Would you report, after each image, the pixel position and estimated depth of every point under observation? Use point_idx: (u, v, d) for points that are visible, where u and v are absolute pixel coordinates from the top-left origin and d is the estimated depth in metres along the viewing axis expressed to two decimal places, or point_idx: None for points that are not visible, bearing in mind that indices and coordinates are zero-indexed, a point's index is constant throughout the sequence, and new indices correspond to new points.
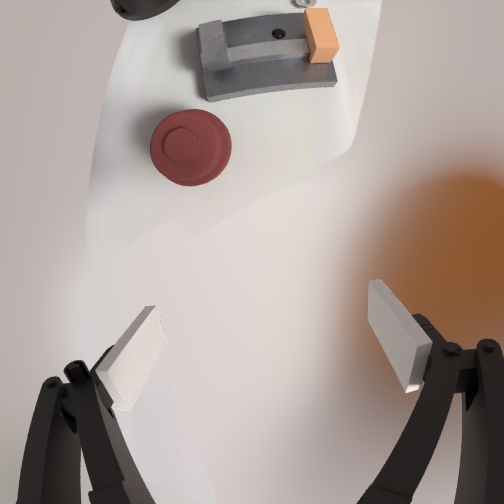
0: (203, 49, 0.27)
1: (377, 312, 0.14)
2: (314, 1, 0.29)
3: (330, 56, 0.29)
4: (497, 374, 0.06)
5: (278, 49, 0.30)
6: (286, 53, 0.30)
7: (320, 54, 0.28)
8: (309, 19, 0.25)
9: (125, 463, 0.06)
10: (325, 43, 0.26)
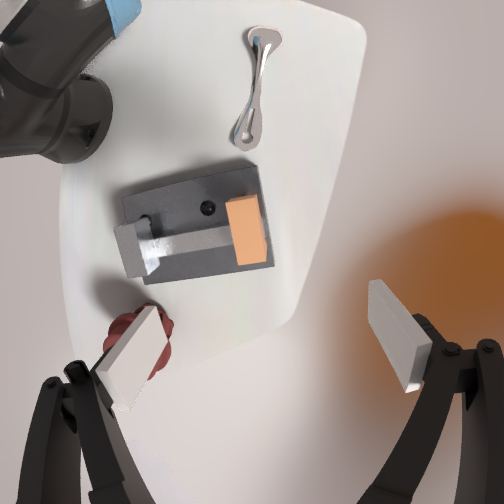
0: (124, 263, 0.31)
1: (377, 312, 0.14)
2: (258, 135, 0.33)
3: None
4: (497, 374, 0.06)
5: (204, 242, 0.34)
6: (214, 247, 0.34)
7: None
8: (230, 222, 0.28)
9: (125, 463, 0.06)
10: (249, 258, 0.29)
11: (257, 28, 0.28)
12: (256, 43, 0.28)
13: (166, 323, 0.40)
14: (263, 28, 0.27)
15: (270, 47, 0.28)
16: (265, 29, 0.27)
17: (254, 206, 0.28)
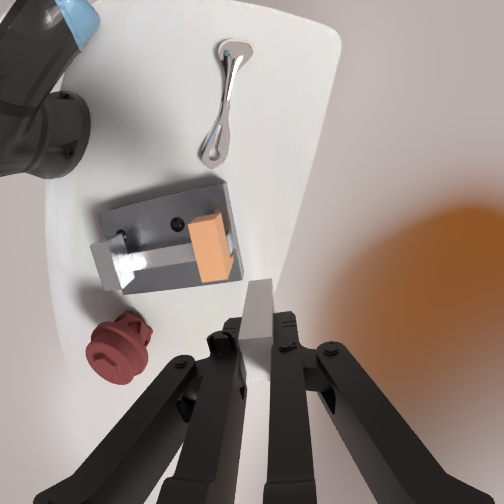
0: (100, 277, 0.32)
1: None
2: (225, 153, 0.34)
3: None
4: (351, 374, 0.09)
5: (174, 257, 0.35)
6: (183, 262, 0.35)
7: None
8: (193, 242, 0.29)
9: (228, 456, 0.07)
10: (211, 275, 0.30)
11: (228, 41, 0.28)
12: (226, 57, 0.29)
13: (144, 330, 0.41)
14: (234, 41, 0.28)
15: (240, 61, 0.29)
16: (236, 42, 0.28)
17: (214, 227, 0.29)
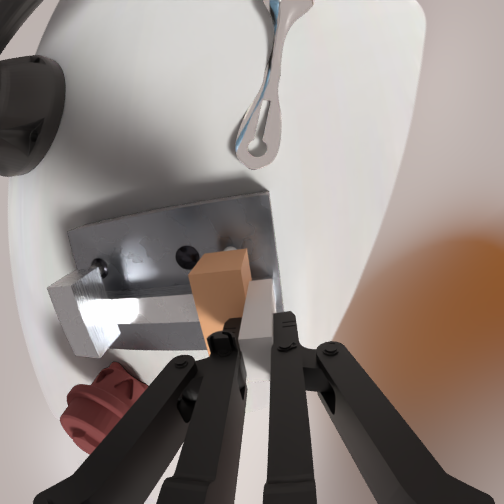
0: (67, 336, 0.18)
1: None
2: (275, 144, 0.21)
3: None
4: (351, 374, 0.09)
5: (182, 312, 0.21)
6: (196, 320, 0.21)
7: None
8: (198, 307, 0.16)
9: (228, 456, 0.07)
10: None
11: None
12: (275, 2, 0.16)
13: (138, 393, 0.27)
14: None
15: (297, 10, 0.16)
16: None
17: (240, 284, 0.15)
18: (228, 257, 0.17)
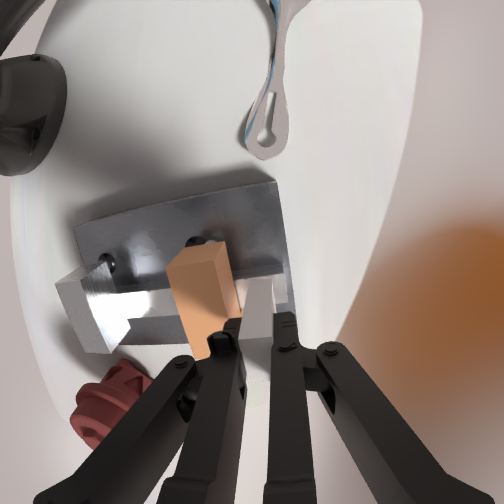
0: (76, 333, 0.18)
1: None
2: (284, 135, 0.21)
3: None
4: (351, 374, 0.09)
5: None
6: None
7: None
8: (176, 298, 0.16)
9: (228, 456, 0.07)
10: None
11: None
12: None
13: None
14: None
15: (297, 3, 0.16)
16: None
17: (214, 275, 0.16)
18: (205, 250, 0.18)
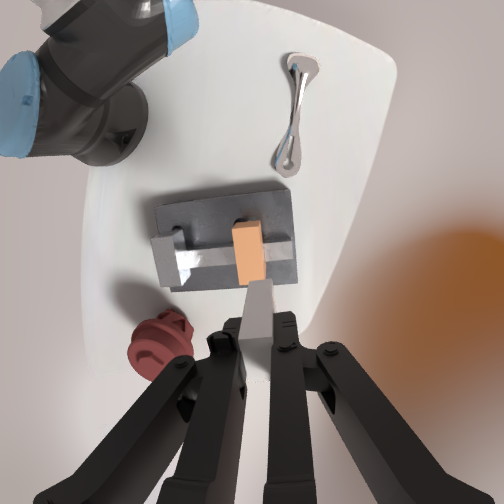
0: (158, 272, 0.33)
1: None
2: (298, 163, 0.36)
3: None
4: (351, 374, 0.09)
5: None
6: None
7: None
8: (235, 246, 0.31)
9: (228, 456, 0.07)
10: (249, 279, 0.32)
11: (296, 56, 0.31)
12: (296, 71, 0.31)
13: (188, 329, 0.43)
14: (302, 56, 0.31)
15: (309, 76, 0.32)
16: (304, 57, 0.31)
17: (257, 234, 0.31)
18: (250, 223, 0.33)
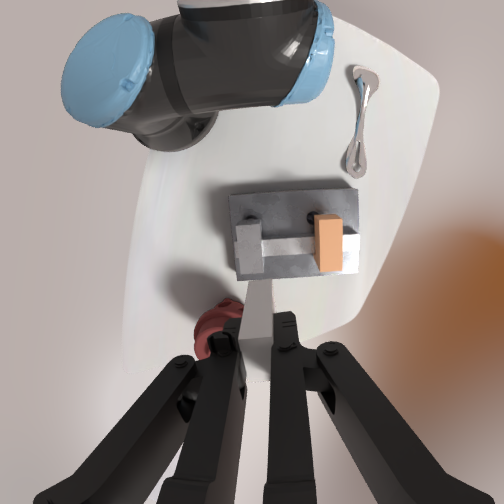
0: (240, 259, 0.35)
1: None
2: (365, 166, 0.39)
3: None
4: (351, 374, 0.09)
5: (311, 247, 0.39)
6: None
7: None
8: (320, 236, 0.34)
9: (228, 456, 0.07)
10: (329, 266, 0.35)
11: (361, 69, 0.33)
12: (362, 83, 0.34)
13: None
14: (366, 70, 0.33)
15: (372, 89, 0.34)
16: (368, 71, 0.33)
17: (341, 225, 0.33)
18: (330, 216, 0.35)
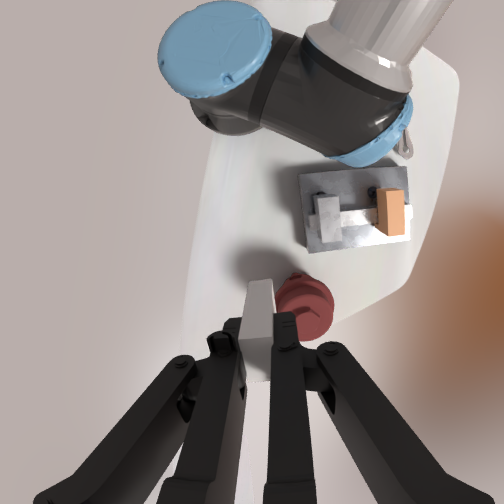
0: (322, 229, 0.38)
1: None
2: (411, 147, 0.41)
3: None
4: (351, 374, 0.09)
5: (374, 217, 0.41)
6: None
7: None
8: (387, 205, 0.36)
9: (228, 456, 0.07)
10: (395, 231, 0.37)
11: None
12: None
13: None
14: None
15: None
16: None
17: (403, 196, 0.35)
18: (391, 188, 0.38)
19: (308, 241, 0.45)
